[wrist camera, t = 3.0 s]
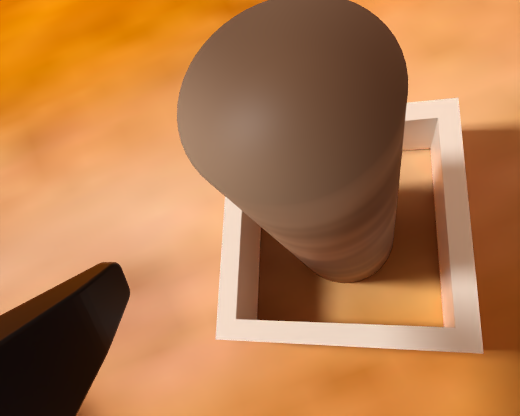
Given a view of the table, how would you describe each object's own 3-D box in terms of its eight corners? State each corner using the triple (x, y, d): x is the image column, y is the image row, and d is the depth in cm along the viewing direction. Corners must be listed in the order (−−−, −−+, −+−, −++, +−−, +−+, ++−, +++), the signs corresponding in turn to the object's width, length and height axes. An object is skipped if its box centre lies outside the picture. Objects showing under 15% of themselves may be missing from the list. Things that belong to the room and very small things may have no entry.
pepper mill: (363, 301, 18) (326, 250, 7) (279, 252, 20) (137, 144, 8) (411, 216, 19) (454, 31, 7) (326, 174, 20) (250, -29, 9)
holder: (467, 350, 17) (483, 353, 14) (239, 338, 19) (215, 339, 17) (447, 131, 19) (458, 97, 17) (249, 147, 22) (230, 120, 19)
